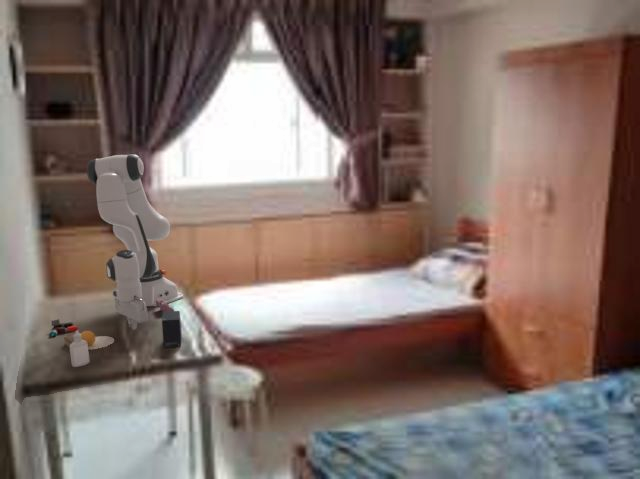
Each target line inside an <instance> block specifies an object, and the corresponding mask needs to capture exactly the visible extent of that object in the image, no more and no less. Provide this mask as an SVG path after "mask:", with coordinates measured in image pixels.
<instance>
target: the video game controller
mask: <svg viewBox="0 0 640 479" xmlns="http://www.w3.org/2000/svg"><path fill="white" fill-rule="evenodd" d="M155 302H156V304H155V305H156V306H155V307H158V308H159V309H160V310H161V312H162V313H163V312H169V311H175V310H174V309H173V308H172V307H170V305H169V303H165V301H164V300H163V299H158V300H156V301H155Z"/></svg>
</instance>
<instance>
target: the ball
mask: <svg viewBox="0 0 640 479" xmlns="http://www.w3.org/2000/svg"><path fill="white" fill-rule="evenodd" d="M80 334H81V336H82V340H85V341H87V344H88V346H91V345H92V344H93V343H94V342H95V337H96V335H95V333H94V332H93V331H91V330H84V331H82V332H81V333H80Z"/></svg>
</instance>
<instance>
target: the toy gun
mask: <svg viewBox="0 0 640 479" xmlns="http://www.w3.org/2000/svg"><path fill="white" fill-rule="evenodd" d="M51 326H52V329H51V331H50V332H49V337H50V338H53V336H55V338H56V337H57V335H61V334H62V335H63V334H66V333H71V332H76V330H78V331H79V327H78V326H77V325H74V323H73V321H71V322H64V323H63V322H62V323H60V319H59V318H58V319H53V320H51Z"/></svg>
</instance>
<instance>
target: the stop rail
mask: <svg viewBox="0 0 640 479" xmlns="http://www.w3.org/2000/svg"><path fill="white" fill-rule="evenodd" d="M63 338H64V340H63V341H64V345H66V347H67V348H70V344H71V343H72V342H74V335H71V334H69V335H66V336H64V337H63Z"/></svg>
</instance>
